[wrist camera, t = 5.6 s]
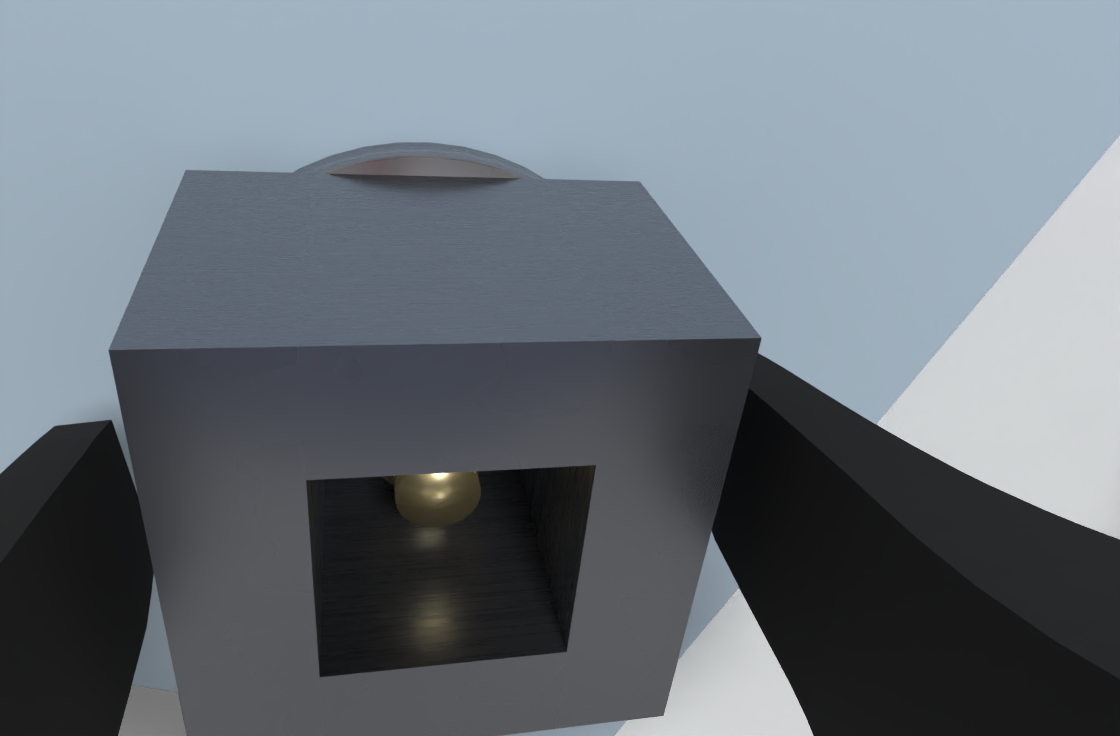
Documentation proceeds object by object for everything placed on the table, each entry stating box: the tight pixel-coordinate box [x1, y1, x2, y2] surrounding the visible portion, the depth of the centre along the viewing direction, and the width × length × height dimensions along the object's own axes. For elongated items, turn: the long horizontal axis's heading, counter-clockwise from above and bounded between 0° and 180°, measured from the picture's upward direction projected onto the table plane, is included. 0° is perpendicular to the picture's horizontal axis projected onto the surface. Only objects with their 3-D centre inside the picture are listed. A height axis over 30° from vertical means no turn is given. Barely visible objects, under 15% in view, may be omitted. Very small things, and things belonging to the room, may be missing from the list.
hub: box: [293, 142, 544, 528], centre depth 11 cm, size 6×6×3 cm
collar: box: [108, 170, 762, 736], centre depth 10 cm, size 6×6×4 cm
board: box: [0, 0, 1120, 736], centre depth 11 cm, size 16×26×1 cm, turn 150°
